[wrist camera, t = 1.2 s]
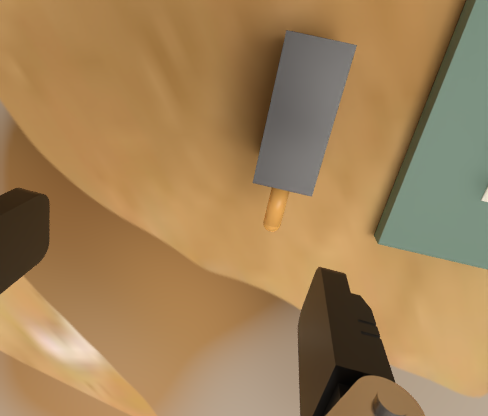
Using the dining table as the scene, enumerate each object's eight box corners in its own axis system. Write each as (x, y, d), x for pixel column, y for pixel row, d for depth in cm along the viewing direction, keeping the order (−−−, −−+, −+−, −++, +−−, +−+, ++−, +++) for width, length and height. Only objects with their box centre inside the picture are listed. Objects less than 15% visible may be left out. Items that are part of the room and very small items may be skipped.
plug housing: (287, 37, 25) (286, 30, 19) (339, 49, 25) (356, 45, 19) (251, 197, 30) (241, 233, 24) (295, 207, 30) (296, 246, 24)
